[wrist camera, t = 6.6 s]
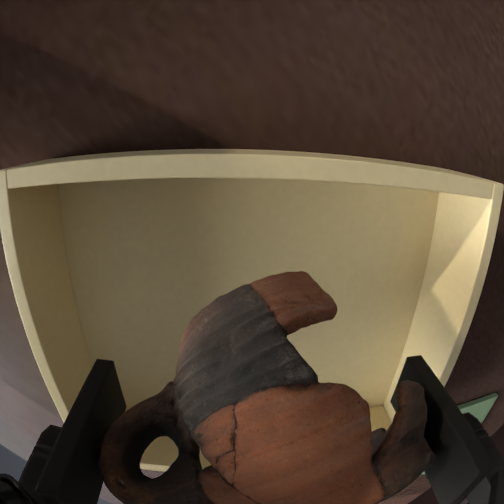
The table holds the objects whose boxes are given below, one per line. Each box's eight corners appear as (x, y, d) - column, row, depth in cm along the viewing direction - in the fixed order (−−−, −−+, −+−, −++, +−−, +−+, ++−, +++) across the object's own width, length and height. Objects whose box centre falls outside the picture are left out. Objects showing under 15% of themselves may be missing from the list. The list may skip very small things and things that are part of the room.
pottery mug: (375, 226, 11) (512, 413, 6) (332, 347, 18) (396, 466, 13) (40, 318, 9) (80, 585, 3) (131, 410, 15) (173, 548, 10)
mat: (495, 392, 23) (498, 395, 22) (450, 460, 27) (452, 464, 26) (421, 415, 22) (424, 419, 22) (381, 482, 26) (382, 486, 26)
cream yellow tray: (447, 169, 15) (504, 184, 11) (387, 406, 21) (409, 451, 17) (49, 159, 14) (-7, 171, 9) (101, 410, 20) (83, 458, 15)
